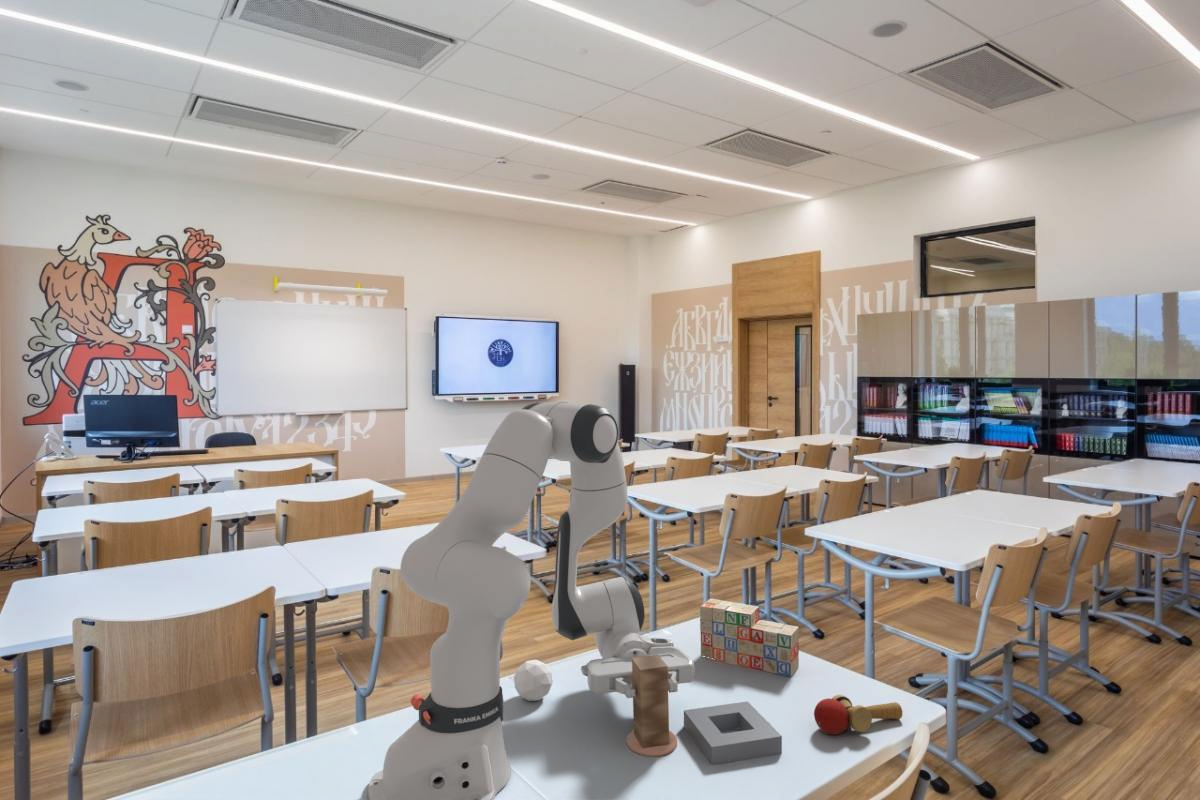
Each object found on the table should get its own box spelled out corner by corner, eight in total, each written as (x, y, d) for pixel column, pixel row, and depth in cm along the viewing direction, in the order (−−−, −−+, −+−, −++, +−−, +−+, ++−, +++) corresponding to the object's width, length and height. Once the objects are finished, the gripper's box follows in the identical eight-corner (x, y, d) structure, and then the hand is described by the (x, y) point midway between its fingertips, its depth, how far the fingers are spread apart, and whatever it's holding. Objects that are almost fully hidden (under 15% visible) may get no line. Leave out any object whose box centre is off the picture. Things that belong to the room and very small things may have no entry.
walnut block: (642, 748, 118) (640, 670, 118) (633, 733, 123) (631, 658, 123) (669, 743, 120) (667, 666, 119) (660, 729, 125) (658, 654, 124)
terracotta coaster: (643, 762, 115) (643, 758, 115) (617, 737, 123) (617, 734, 123) (687, 747, 120) (687, 744, 120) (659, 724, 128) (659, 721, 128)
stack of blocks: (799, 667, 152) (799, 613, 152) (791, 678, 147) (790, 622, 146) (710, 647, 164) (710, 597, 163) (699, 657, 158) (699, 604, 158)
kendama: (877, 713, 134) (801, 717, 128) (885, 684, 133) (809, 687, 127) (906, 740, 127) (826, 745, 120) (915, 709, 125) (835, 713, 119)
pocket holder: (711, 764, 114) (711, 747, 114) (683, 726, 127) (683, 710, 127) (781, 753, 118) (781, 736, 118) (747, 716, 130) (747, 701, 130)
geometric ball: (532, 716, 137) (518, 695, 132) (516, 688, 143) (502, 667, 138) (564, 692, 139) (551, 671, 134) (546, 665, 145) (533, 644, 141)
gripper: (578, 649, 131) (595, 680, 118) (678, 638, 136) (705, 666, 123) (578, 681, 131) (596, 716, 118) (678, 669, 136) (706, 701, 123)
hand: (652, 690), depth 120 cm, fingers open, 6 cm apart
